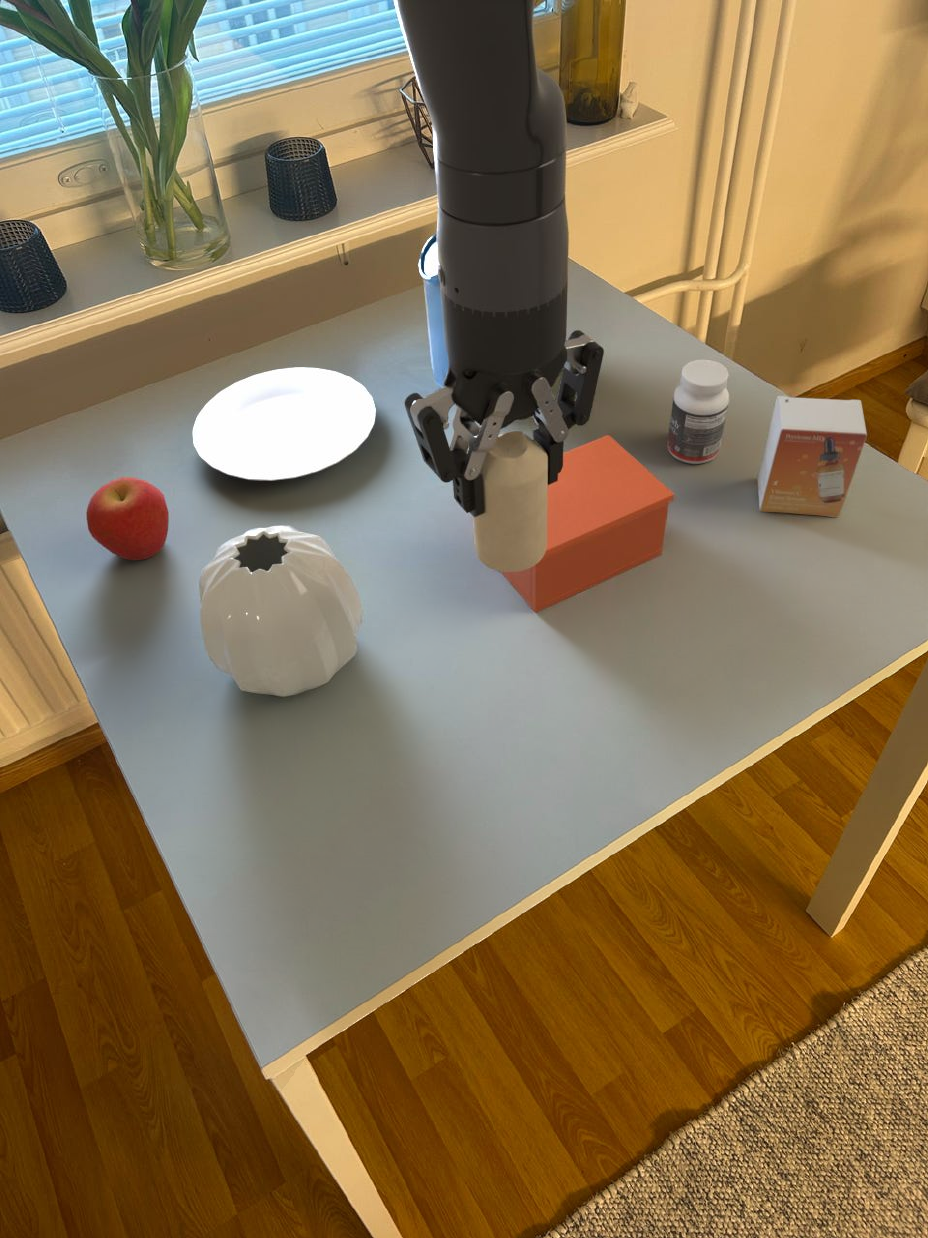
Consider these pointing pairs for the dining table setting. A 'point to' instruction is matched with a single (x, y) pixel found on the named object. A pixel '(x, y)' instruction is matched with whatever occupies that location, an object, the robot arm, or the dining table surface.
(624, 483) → the lunchbox lid
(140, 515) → the apple
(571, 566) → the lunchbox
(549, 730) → the dining table surface
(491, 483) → the candle
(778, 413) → the small box
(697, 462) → the pill bottle
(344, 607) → the vase
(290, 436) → the plate
